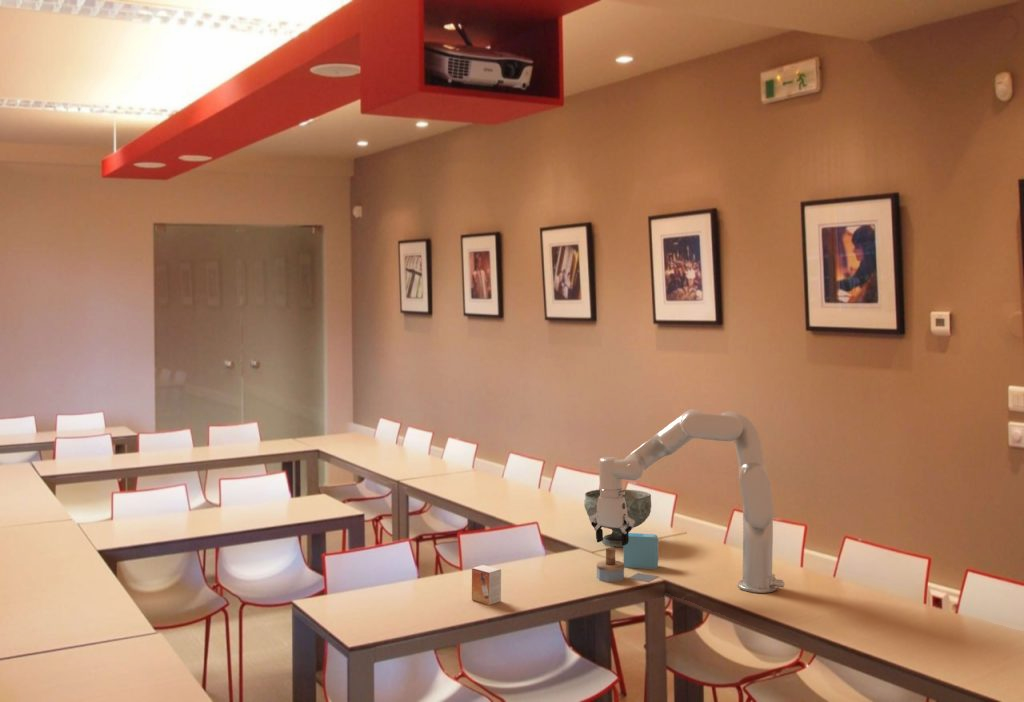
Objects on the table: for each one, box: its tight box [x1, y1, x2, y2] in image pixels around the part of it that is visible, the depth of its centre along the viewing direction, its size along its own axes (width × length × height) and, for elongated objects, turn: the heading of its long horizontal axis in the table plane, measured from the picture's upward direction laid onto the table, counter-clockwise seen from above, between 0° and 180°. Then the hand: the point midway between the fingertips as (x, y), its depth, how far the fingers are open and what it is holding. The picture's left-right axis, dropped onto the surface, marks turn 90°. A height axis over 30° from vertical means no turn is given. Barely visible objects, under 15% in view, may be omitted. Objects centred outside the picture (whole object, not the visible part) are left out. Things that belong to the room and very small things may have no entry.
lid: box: [596, 547, 626, 571], centre depth 335 cm, size 10×10×6 cm
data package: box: [622, 532, 659, 570], centre depth 350 cm, size 12×4×12 cm, turn 79°
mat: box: [627, 572, 660, 583], centre depth 336 cm, size 8×8×1 cm
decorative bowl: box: [583, 488, 652, 548], centre depth 386 cm, size 26×26×20 cm
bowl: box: [596, 567, 625, 583], centre depth 335 cm, size 9×9×4 cm
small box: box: [471, 564, 502, 606], centre depth 313 cm, size 8×6×10 cm
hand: (612, 543), depth 335 cm, fingers open, 9 cm apart
